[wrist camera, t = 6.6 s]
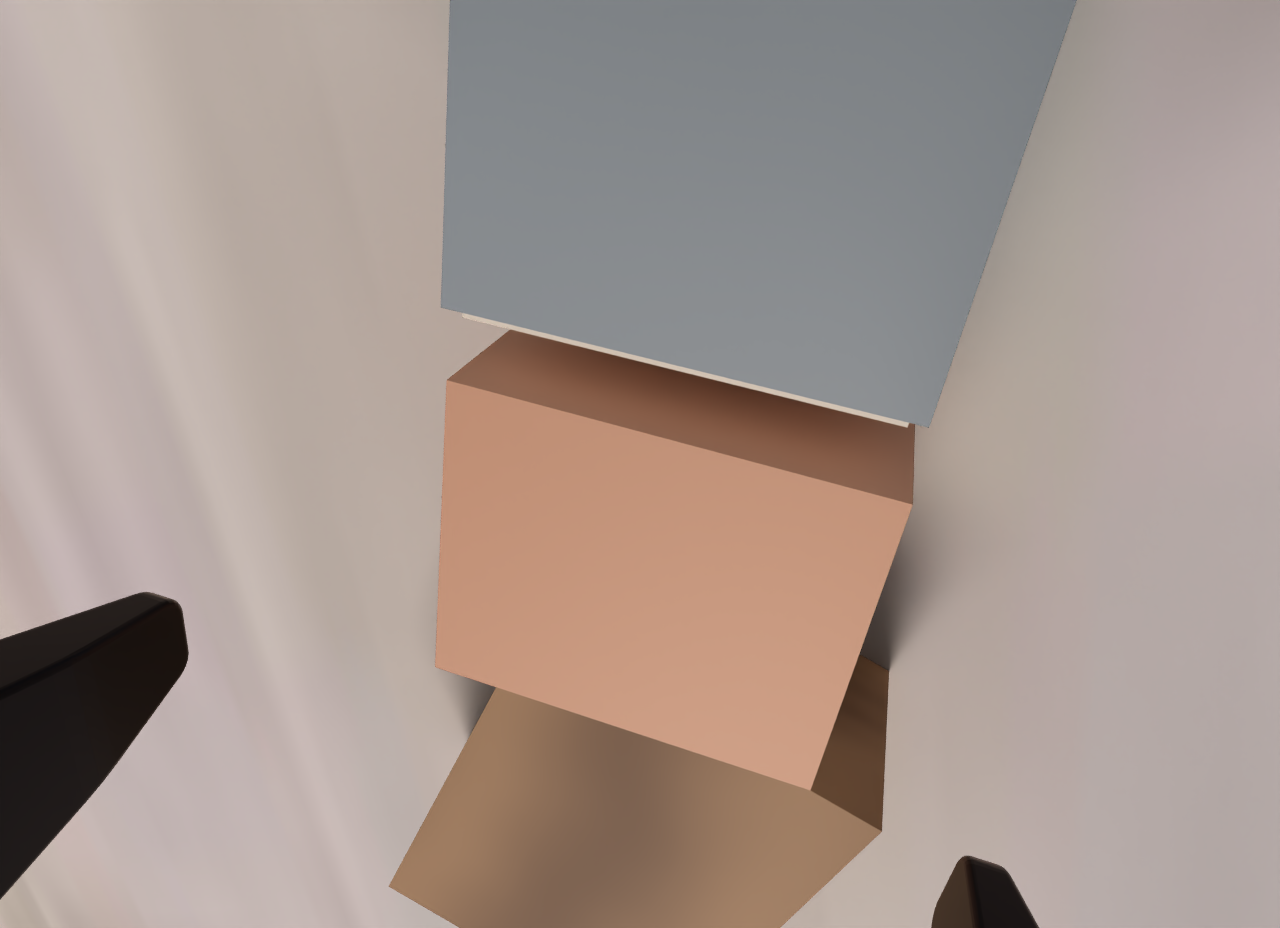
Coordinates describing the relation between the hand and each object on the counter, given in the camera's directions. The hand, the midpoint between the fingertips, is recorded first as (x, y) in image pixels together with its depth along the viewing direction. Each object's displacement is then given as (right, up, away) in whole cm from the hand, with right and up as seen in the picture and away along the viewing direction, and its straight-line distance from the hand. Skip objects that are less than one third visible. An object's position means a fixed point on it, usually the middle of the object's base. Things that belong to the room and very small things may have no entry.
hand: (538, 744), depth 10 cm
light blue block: (+3, +9, +5) cm, 11 cm away
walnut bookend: (+2, -3, +12) cm, 12 cm away
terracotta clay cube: (+3, +4, +8) cm, 9 cm away
